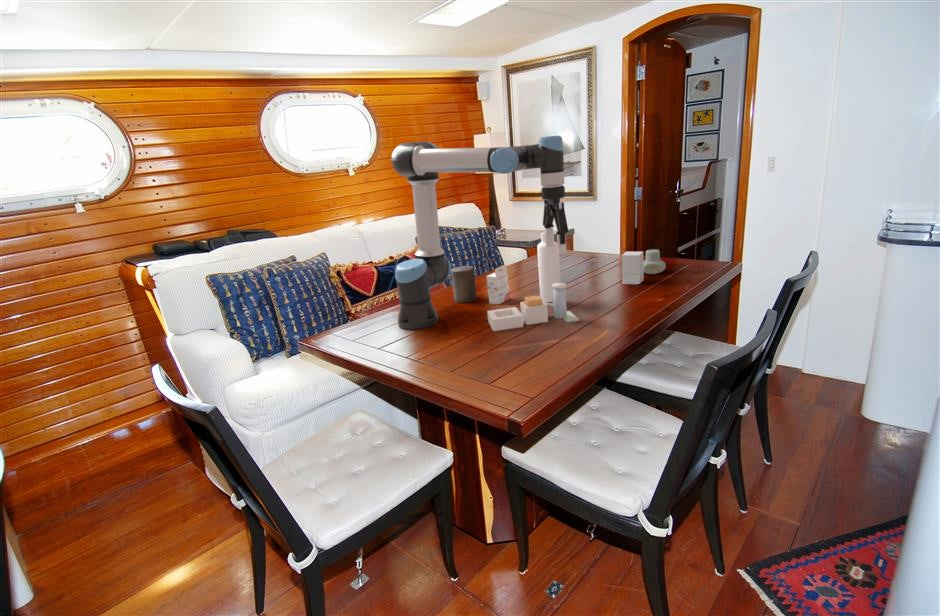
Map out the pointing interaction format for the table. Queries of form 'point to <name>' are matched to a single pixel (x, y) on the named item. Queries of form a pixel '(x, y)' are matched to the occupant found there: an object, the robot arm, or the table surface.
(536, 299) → the plunger
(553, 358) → the table surface
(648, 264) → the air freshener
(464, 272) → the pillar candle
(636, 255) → the supplement box
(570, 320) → the rubber mat
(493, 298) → the ink cartridge box
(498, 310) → the white compartment holder
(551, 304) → the bottle
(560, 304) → the grey rounded cylinder
